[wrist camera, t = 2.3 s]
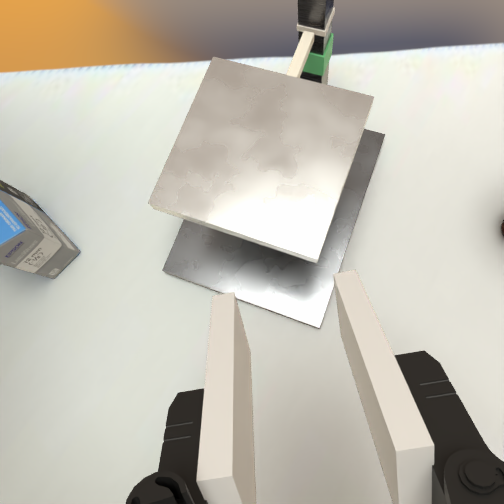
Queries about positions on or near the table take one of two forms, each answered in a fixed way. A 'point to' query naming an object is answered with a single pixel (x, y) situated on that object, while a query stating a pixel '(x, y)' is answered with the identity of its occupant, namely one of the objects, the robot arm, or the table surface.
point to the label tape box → (31, 236)
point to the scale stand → (270, 260)
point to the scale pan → (264, 155)
